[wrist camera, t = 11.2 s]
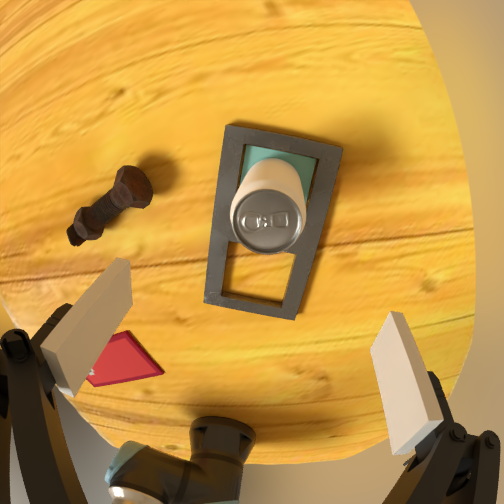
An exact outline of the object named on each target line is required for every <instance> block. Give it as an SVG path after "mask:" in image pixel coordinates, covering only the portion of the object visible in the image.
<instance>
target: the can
mask: <svg viewBox="0 0 504 504" xmlns="http://www.w3.org/2000/svg"><path fill="white" fill-rule="evenodd" d="M230 219H231V223H232V228H233V231H234V234H235V236H236V238H237V239H238V240H239V242H240V243H241V244H242V245H243V246H244V247H246V248H247V249H249V250H251V251H253V252H255V253H259V254H265V255H271V254H277V253H280V252H283V251H285V250H287V249H288V248H290V247H291V246H292V245H293V244H294V243H295V242H296V241H297V239H298V238H299V236H300V234H301V233H302V231H303V229H304V226H305V222H306V206H305V200H304V195H303V190H302V185H301V180H300V177H299V175H298V173H297V171H296V170H295V168H294V167H293V166H292V165H291V164H289V163H288V162H286V161H284V160H281V159H277V158H268V159H264V160H261V161H259V162H257V163H256V164H254V165H253V166H252V167H251V168H250V170H249V171H248V173H247V174H246V176H245V178H244V180H243V181H242V183H241V185H240V187H239V189H238V191H237V193H236V195H235V197H234V199H233V201H232V204H231V209H230Z"/></svg>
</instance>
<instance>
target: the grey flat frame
mask: <svg viewBox="0 0 504 504" xmlns="http://www.w3.org/2000/svg"><path fill="white" fill-rule="evenodd" d="M244 144H249V145H255V146H261V147H266V148H271V149H277V150H282V151H287V152H291V153H296V154H301V155H305V156H310V157H314V158H319V159H318V163H317V168H316V172H315V176H314V180H313V185H312V189H311V193H310V197H309V201H308V205H307V210H306V222H305V226H304V229H303V231H302V233H301V234H300V236H299V238H298V239H297V241H296V242H295V243H294V244H293V245H292V246H291V247H290V248H288V249H287V250H285V251H283V252H287V253H292V254H295V257H294V260H293V264H292V268H291V272H290V275H289V279H288V283H287V286H286V290H285V294H284V297H283V301H282V303H279V302H274V301H268V300H263V299H258V298H253V297H248V296H243V295H238V294H233V293H228V292H223V291H222V288H223V281H224V274H225V267H226V260H227V253H228V246H229V241H232V242H237V243H240V242H239V240H238V239H237V238H236V236H235V234H234V231H233V228H232V223H231V219H230V209H231V204H232V201H233V199H234V197H235V195H236V193H237V187H238V181H239V174H240V168H241V162H242V156H243V150H244ZM342 151H343V148H342V147H339V146H335V145H331V144H327V143H323V142H318V141H314V140H310V139H305V138H301V137H296V136H291V135H286V134H281V133H276V132H271V131H265V130H260V129H254V128H248V127H242V126H235V125H229V124H227V125H226V126H225V132H224V139H223V146H222V152H221V159H220V166H219V173H218V181H217V188H216V196H215V203H214V211H213V219H212V228H211V236H210V245H209V254H208V263H207V272H206V282H205V292H204V303H207V304H212V305H216V306H221V307H226V308H231V309H236V310H240V311H246V312H251V313H256V314H261V315H266V316H272V317H277V318H283V319H288V320H294V321H295V318H296V314H297V311H298V308H299V305H300V302H301V299H302V296H303V293H304V289H305V286H306V283H307V280H308V277H309V273H310V270H311V267H312V263H313V260H314V257H315V253H316V250H317V246H318V243H319V239H320V236H321V232H322V229H323V225H324V222H325V218H326V214H327V211H328V207H329V203H330V199H331V196H332V192H333V188H334V184H335V180H336V176H337V172H338V168H339V164H340V160H341V156H342Z"/></svg>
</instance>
